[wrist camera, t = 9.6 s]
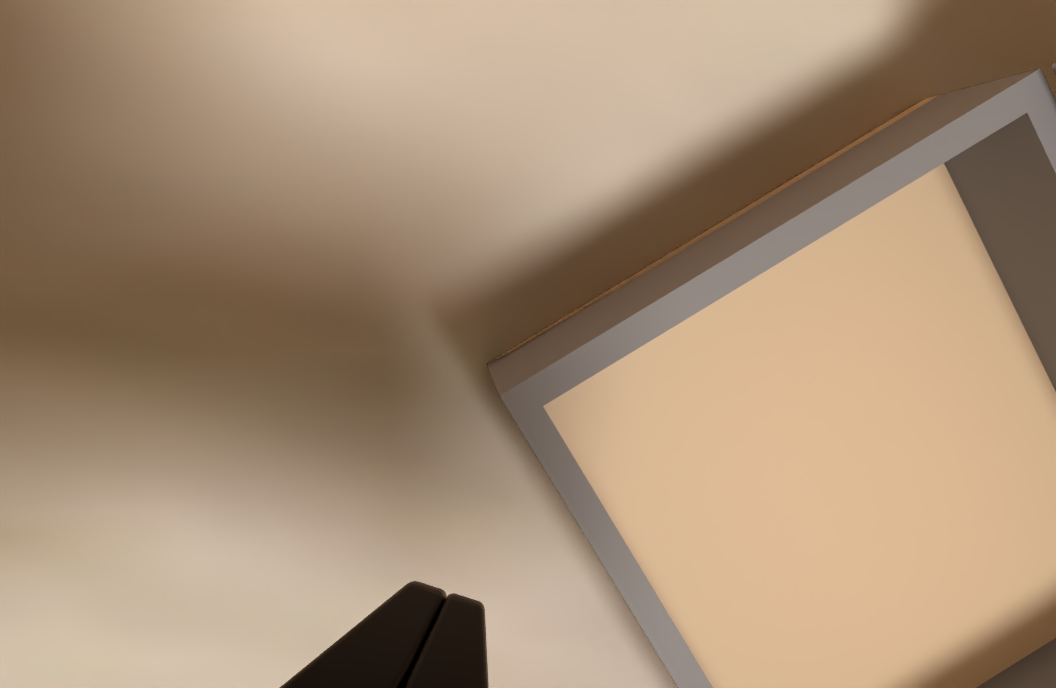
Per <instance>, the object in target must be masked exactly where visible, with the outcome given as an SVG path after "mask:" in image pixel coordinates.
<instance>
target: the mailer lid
mask: <svg viewBox="0 0 1056 688" xmlns="http://www.w3.org/2000/svg"><path fill="white" fill-rule="evenodd" d="M1052 68H1053V70H1054V72H1055V74H1056V61H1055V62H1054V63H1053V64H1052Z"/></svg>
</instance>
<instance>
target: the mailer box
mask: <svg viewBox="0 0 1056 688" xmlns="http://www.w3.org/2000/svg"><path fill="white" fill-rule="evenodd" d="M487 366H488V369H489V371H490V374H491V376H492V379H493V381H494V384H495V386H496V389H497V391H498V394H499V396H500V398H501V400H502V401H503V403H504V405H505V406H506V408H507V409H508V411H509V413H510V414H511V416H512V418H513V419H514V421H515V422H516V424H517V426H518V427H519V429H520V431H521V432H522V434H523V436H524V437H525V439H526V440H527V442H528V444H529V445H530V447H531V449H532V450H533V452H534V454H535V455H536V457H537V458H538V460H539V462H540V463H541V465H542V467H543V468H544V470H545V471H546V473H547V475H548V476H549V478H550V480H551V481H552V483H553V485H554V486H555V488H556V489H557V491H558V493H559V494H560V496H561V498H562V499H563V501H564V502H565V504H566V506H567V507H568V509H569V511H570V512H571V514H572V516H573V517H574V519H575V520H576V522H577V524H578V525H579V527H580V529H581V530H582V532H583V534H584V535H585V537H586V538H587V540H588V542H589V543H590V545H591V547H592V548H593V550H594V551H595V553H596V555H597V556H598V558H599V560H600V561H601V563H602V565H603V566H604V568H605V569H606V571H607V573H608V574H609V576H610V578H611V579H612V581H613V583H614V584H615V586H616V587H617V589H618V591H619V592H620V594H621V596H622V597H623V599H624V600H625V602H626V604H627V605H628V607H629V609H630V610H631V612H632V614H633V615H634V617H635V618H636V620H637V622H638V623H639V625H640V627H641V628H642V630H643V632H644V633H645V635H646V636H647V638H648V640H649V641H650V643H651V645H652V646H653V648H654V649H655V651H656V653H657V654H658V656H659V658H660V659H661V661H662V663H663V664H664V666H665V667H666V669H667V671H668V672H669V674H670V676H671V677H672V679H673V681H674V682H675V684H676V685H677V687H678V688H1056V100H1055V98H1054V96H1053V94H1052V92H1051V89H1050V87H1049V85H1048V83H1047V81H1046V78H1045V76H1044V74H1043V72H1042V70H1041V68H1039V69H1036V70H1032V71H1028V72H1024V73H1020V74H1017V75H1013V76H1009V77H1005V78H1001V79H998V80H994V81H990V82H986V83H982V84H979V85H975V86H971V87H967V88H964V89H960V90H956V91H952V92H948V93H945V94H941V95H937V96H933V97H929V98H926V99H924V100H922V101H920V102H919V103H917V104H915V105H914V106H912V107H910V108H909V109H907V110H905V111H904V112H902V113H901V114H899V115H897V116H896V117H894V118H892V119H891V120H889V121H887V122H886V123H884V124H882V125H881V126H879V127H877V128H876V129H874V130H872V131H871V132H869V133H867V134H866V135H864V136H862V137H861V138H859V139H858V140H856V141H854V142H853V143H851V144H849V145H848V146H846V147H844V148H843V149H841V150H839V151H838V152H836V153H834V154H833V155H831V156H829V157H828V158H826V159H824V160H823V161H821V162H819V163H818V164H816V165H814V166H813V167H811V168H810V169H808V170H806V171H805V172H803V173H801V174H800V175H798V176H796V177H795V178H793V179H791V180H790V181H788V182H786V183H785V184H783V185H781V186H780V187H778V188H776V189H775V190H773V191H771V192H770V193H768V194H766V195H765V196H763V197H762V198H760V199H758V200H757V201H755V202H753V203H752V204H750V205H748V206H747V207H745V208H743V209H742V210H740V211H738V212H737V213H735V214H733V215H732V216H730V217H728V218H727V219H725V220H723V221H722V222H720V223H719V224H717V225H715V226H714V227H712V228H710V229H709V230H707V231H705V232H704V233H702V234H700V235H699V236H697V237H695V238H694V239H692V240H690V241H689V242H687V243H685V244H684V245H682V246H680V247H679V248H677V249H675V250H674V251H672V252H671V253H669V254H667V255H666V256H664V257H662V258H661V259H659V260H657V261H656V262H654V263H652V264H651V265H649V266H647V267H646V268H644V269H642V270H641V271H639V272H637V273H636V274H634V275H632V276H631V277H629V278H628V279H626V280H624V281H623V282H621V283H619V284H618V285H616V286H614V287H613V288H611V289H609V290H608V291H606V292H604V293H603V294H601V295H599V296H598V297H596V298H594V299H593V300H591V301H589V302H588V303H586V304H584V305H583V306H581V307H580V308H578V309H576V310H575V311H573V312H571V313H570V314H568V315H566V316H565V317H563V318H561V319H560V320H558V321H556V322H555V323H553V324H551V325H550V326H548V327H546V328H545V329H543V330H541V331H540V332H538V333H536V334H535V335H533V336H532V337H530V338H528V339H527V340H525V341H523V342H522V343H520V344H518V345H517V346H515V347H513V348H512V349H510V350H508V351H507V352H505V353H503V354H502V355H500V356H498V357H497V358H495V359H493V360H492V361H490V362H489V363H487Z"/></svg>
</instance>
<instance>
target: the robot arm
mask: <svg viewBox="0 0 1056 688" xmlns="http://www.w3.org/2000/svg"><path fill="white" fill-rule="evenodd" d="M280 688H488V668H487V647H486V627H485V609H484V606H483V604H482V603H481V602H479V601H476V600H473V599H470V598H467V597H464V596H461V595H458V594H450V595H448V596H446V593H445V592H444V591H443V590H442V589H439V588H436V587H433V586H430V585H427V584H424V583H421V582H417V581H413V582H410V583H408V584H407V585H405V586H404V587H403V588H402V589H400V590H399V591H398V592H397V593H395V594H394V595H393V596H392V597H390V598H389V599H388V600H387V601H386V602H384V603H383V604H382V605H381V606H379V607H378V608H377V609H376V610H375V611H373V612H372V613H371V614H370V615H368V616H367V617H366V618H365V619H363V620H362V621H361V622H360V623H359V624H357V625H356V626H355V627H354V628H352V629H351V630H350V631H349V632H347V633H346V634H345V635H344V636H343V637H341V638H340V639H339V640H338V641H336V642H335V643H334V644H333V645H332V646H330V647H329V648H328V649H327V650H325V651H324V652H323V653H322V654H320V655H319V656H318V657H317V658H316V659H314V660H313V661H312V662H311V663H309V664H308V665H307V666H306V667H304V668H303V669H302V670H301V671H300V672H298V673H297V674H296V675H295V676H293V677H292V678H291V679H290V680H289V681H287V682H286V683H285V684H284V685H282V686H281V687H280Z"/></svg>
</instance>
